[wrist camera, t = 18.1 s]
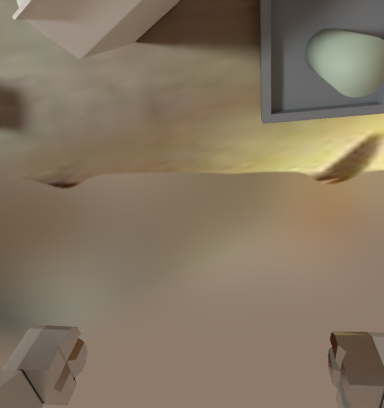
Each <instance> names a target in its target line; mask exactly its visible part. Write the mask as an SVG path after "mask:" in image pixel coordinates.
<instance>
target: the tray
mask: <svg viewBox="0 0 384 408" xmlns="http://www.w3.org/2000/svg"><path fill="white" fill-rule="evenodd" d="M259 8H260V63H261V117H262V123H275V122H287V121H299V120H310V119H322V118H334V117H346V116H357V115H369V114H381V113H384V84H383V85H382V86H381V87H380V88H379V89H377V90H376V91H374V92H373V93H371V94H369V95H366V96H363V97H355V98H354V97H348V96H345V95H343V94H341V93H340V92H339V91H338V90H336V89H335V88H334V87H333V86H331V85H330V84H329V83H328V82H327V81H325V80H324V79H323V78H322V77H321V76H319V75H318V74H317V73H316V72H314V71H313V70H312V69H311V68H310V67H309V66H308V64H307V62H306V60H305V49H306V46H307V44H308V42H309V40H310V39H311V37H312V36H313V35H314V34H316V33H317V32H319V31H320V30H323V29H326V28H335V29H340V30H345V31H350V32H355V33H360V34H365V35H370V36H375V37H378V38H381V39H383V40H384V0H259Z"/></svg>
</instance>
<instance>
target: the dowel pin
mask: <svg viewBox="0 0 384 408" xmlns="http://www.w3.org/2000/svg"><path fill="white" fill-rule="evenodd" d="M305 60H306V62H307V64H308V66H309V67H310V68H311V69H312V70H313V71H314V72H316V73H317V74H318V75H319V76H321V77H322V78H323V79H324V80H325V81H327V82H328V83H329V84H330V85H331V86H333V87H334V88H335V89H336V90H338V91H339V92H340V93H341V94H343V95H345V96H348V97H354V98H355V97H363V96H366V95H369V94H371V93H373V92H374V91H376V90H377V89H379V88H380V87H381V86H382V85H383V84H384V40H383V39H381V38H378V37H375V36H370V35H365V34H360V33H355V32H350V31H345V30H340V29H335V28H326V29H323V30H320V31H319V32H317V33H316V34H314V35H313V36H312V37H311V39H310V40H309V42H308V44H307V46H306V49H305Z"/></svg>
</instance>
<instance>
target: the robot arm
mask: <svg viewBox="0 0 384 408" xmlns="http://www.w3.org/2000/svg"><path fill="white" fill-rule="evenodd" d="M79 335H80V332H79V329H78V328H77V327H67V326H48V325H34V326H32V327H31V328H30V329H29V330H28V331H27V333H26V334H25V336H24V337H23V339H22V340H21V342H20V343H19V345H18V346H17V348H16V349H15V351H14V352H13V354H12V356H11V357H10V358H9V360H8V361H7V363H6V364H5V366H4V368H3V369H0V408H41V407H42V406H43V404H56V405H67V404H68V402H69V400H70V398H71V395H72V393H73V391H74V388H75V386H76V380H75V377H76V376H77V375H78V374H79V373H80V372H82V370H83V368H84V365H85V363H86V357H87V348H86V345H85V342H83V341H82V340H81V339H79ZM330 341H331V345H332V347H331V348H330V349H329V353H328V363H329V364H328V365H329V372H330V377H331V380H332V383H333V384H334V385H335V386H336V387H337V394H336V401H337V405H338V408H384V333H376V332H372V333H370V332H369V333H368V332H332V333H331V336H330Z"/></svg>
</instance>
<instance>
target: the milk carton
mask: <svg viewBox="0 0 384 408" xmlns="http://www.w3.org/2000/svg"><path fill="white" fill-rule="evenodd" d="M179 1H180V0H17V3H18V6H19V9H18V10H17V11H16V13H15V14H14V15H13V18H14V20H21V19H24V20H25V21H27V22H28V23H30V24H31V25H32V26H34V27H35V28H37V29H38V30H39V31H41V32H42V33H44V34H45V35H46V36H48V37H49V38H51V39H52V40H53V41H55V42H56V43H58V44H59V45H60V46H62V47H63V48H65V49H66V50H67V51H69V52H70V53H72V54H73V55H74V56H76V57H77V58H79V59H82V58H86V57H89V56H92V55H95V54H98V53H102V52H105V51H108V50H111V49H115V48H118V47H121V46H124V45H127V44H131V43H134V42H135V41H136V40H137V39H139V38H140V37H141V36H142V35H143V34H144V33H145V32H146V31H147V30H148V29H150V28H151V27H152V26H153V25H154V24H155V23H156V22H157V21H158V20H159V19H161V18H162V17H163V16H164V15H165V14H166V13H167V12H168V11H169V10H170V9H172V8H173V7H174V6H175V5H176V4H177V3H178V2H179Z"/></svg>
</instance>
